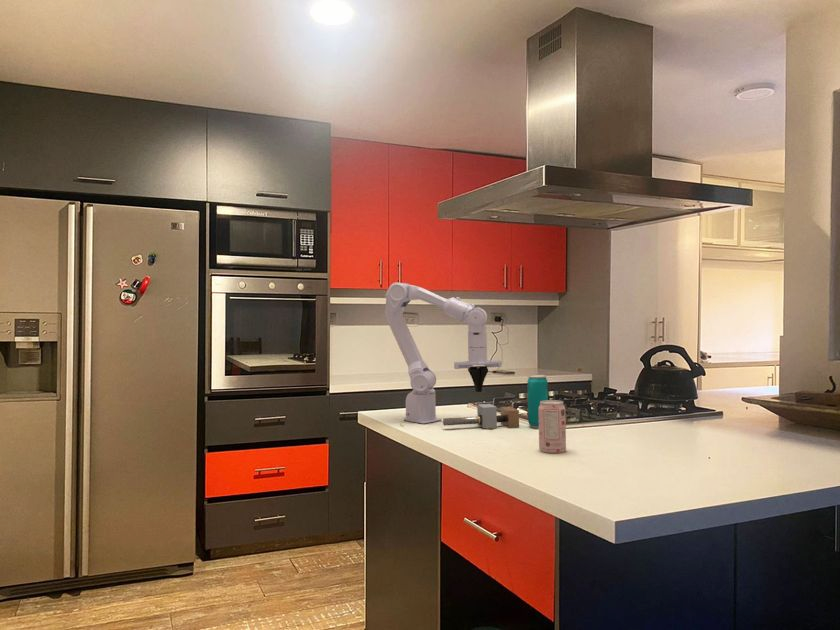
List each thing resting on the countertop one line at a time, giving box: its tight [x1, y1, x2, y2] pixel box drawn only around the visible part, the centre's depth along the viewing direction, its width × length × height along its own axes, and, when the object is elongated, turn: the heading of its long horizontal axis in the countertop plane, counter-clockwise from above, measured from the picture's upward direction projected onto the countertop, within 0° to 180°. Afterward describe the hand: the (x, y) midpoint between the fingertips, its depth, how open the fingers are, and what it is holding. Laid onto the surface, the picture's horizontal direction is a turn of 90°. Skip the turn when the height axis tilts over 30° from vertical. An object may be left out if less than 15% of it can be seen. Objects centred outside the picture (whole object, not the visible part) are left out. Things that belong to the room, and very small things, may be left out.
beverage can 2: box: [538, 399, 567, 454], centre depth 157 cm, size 6×6×12 cm
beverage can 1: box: [526, 374, 549, 430], centre depth 186 cm, size 6×6×15 cm
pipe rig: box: [442, 406, 520, 431], centre depth 188 cm, size 22×9×5 cm, turn 101°
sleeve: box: [476, 403, 498, 429], centre depth 188 cm, size 4×6×6 cm, turn 11°
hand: (478, 391), depth 196 cm, fingers closed
